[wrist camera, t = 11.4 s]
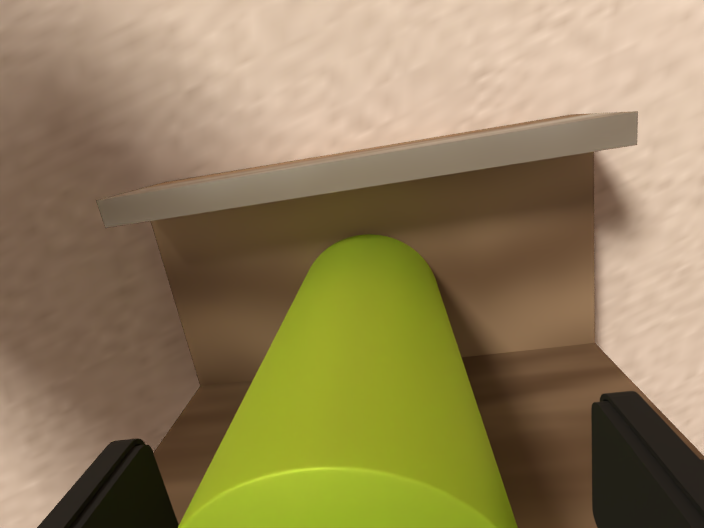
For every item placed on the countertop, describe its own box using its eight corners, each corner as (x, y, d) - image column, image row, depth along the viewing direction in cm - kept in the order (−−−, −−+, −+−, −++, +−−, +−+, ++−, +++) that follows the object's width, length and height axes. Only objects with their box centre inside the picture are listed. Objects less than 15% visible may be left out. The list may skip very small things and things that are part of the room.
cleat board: (163, 182, 20) (-120, 258, 9) (571, 114, 18) (884, 99, 7) (222, 389, 23) (70, 640, 12) (575, 350, 21) (796, 610, 10)
